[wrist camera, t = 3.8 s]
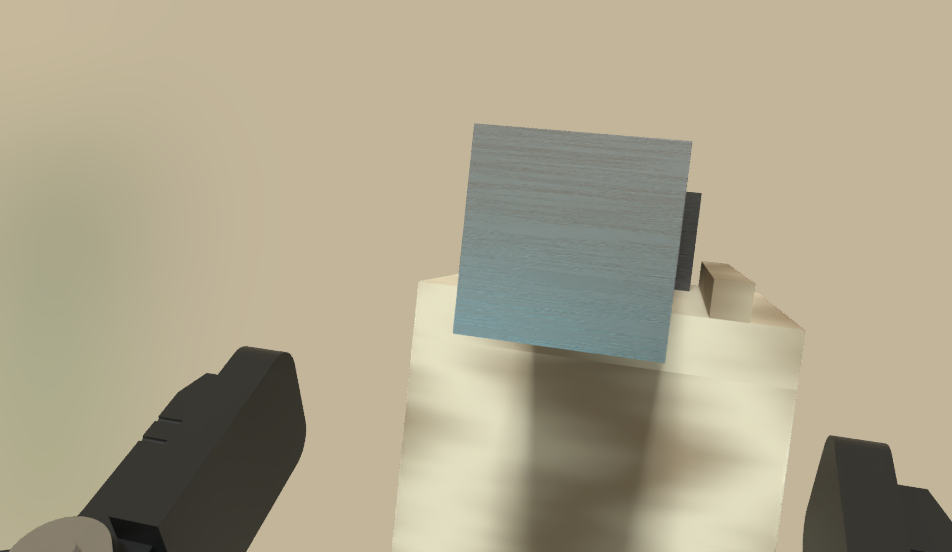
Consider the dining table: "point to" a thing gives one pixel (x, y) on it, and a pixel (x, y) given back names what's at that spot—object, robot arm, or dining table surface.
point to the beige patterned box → (601, 433)
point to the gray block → (575, 240)
